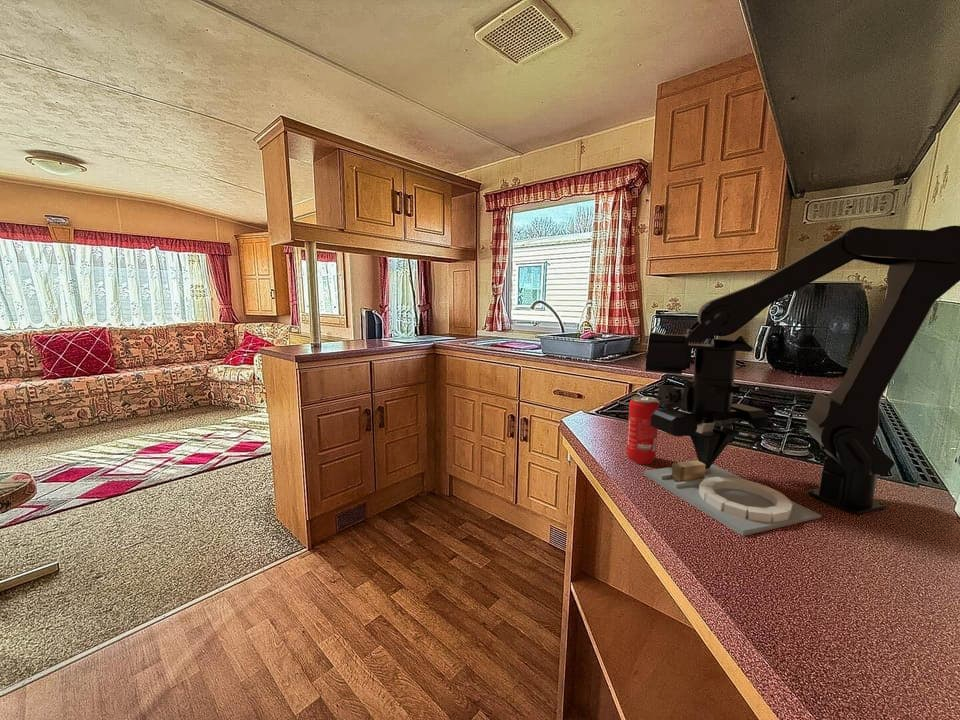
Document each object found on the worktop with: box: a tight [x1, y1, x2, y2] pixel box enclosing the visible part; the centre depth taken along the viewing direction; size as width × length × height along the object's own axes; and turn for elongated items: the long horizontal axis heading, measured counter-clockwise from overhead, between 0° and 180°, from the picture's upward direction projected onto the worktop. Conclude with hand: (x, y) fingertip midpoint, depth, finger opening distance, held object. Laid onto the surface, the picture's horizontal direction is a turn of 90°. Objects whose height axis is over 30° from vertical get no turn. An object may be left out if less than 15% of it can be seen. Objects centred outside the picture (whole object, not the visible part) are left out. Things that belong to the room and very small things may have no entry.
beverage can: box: [625, 395, 660, 465], centre depth 75 cm, size 5×5×12 cm
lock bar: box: [671, 459, 706, 482], centre depth 65 cm, size 5×2×2 cm, turn 106°
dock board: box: [643, 463, 822, 537], centre depth 62 cm, size 14×19×2 cm
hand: (704, 468), depth 66 cm, fingers closed
